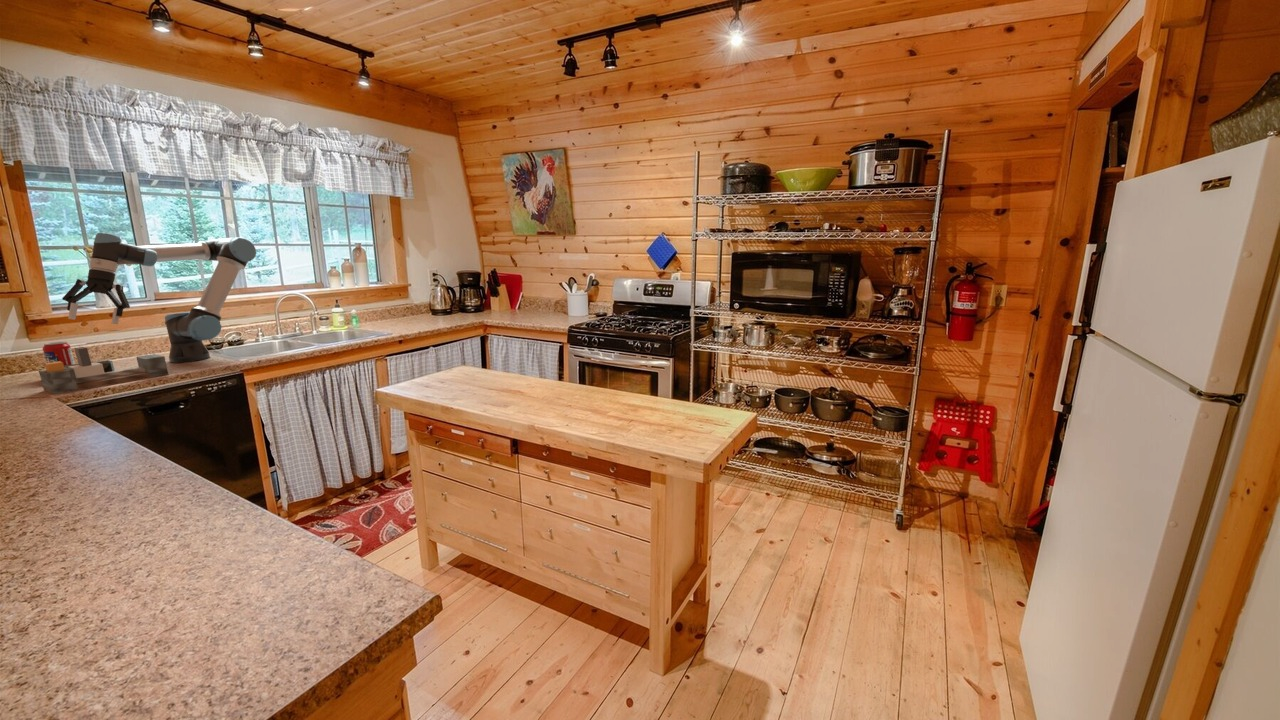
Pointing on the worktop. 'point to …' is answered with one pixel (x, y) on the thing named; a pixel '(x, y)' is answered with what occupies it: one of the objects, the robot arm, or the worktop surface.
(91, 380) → the rail stand
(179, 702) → the worktop surface
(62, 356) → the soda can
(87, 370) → the carriage
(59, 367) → the plunger
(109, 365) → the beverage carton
